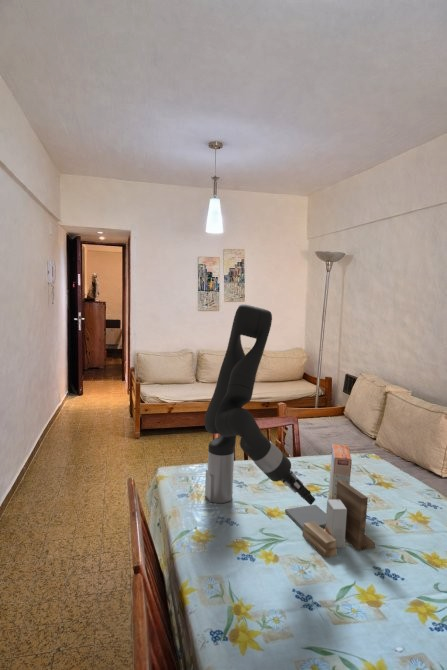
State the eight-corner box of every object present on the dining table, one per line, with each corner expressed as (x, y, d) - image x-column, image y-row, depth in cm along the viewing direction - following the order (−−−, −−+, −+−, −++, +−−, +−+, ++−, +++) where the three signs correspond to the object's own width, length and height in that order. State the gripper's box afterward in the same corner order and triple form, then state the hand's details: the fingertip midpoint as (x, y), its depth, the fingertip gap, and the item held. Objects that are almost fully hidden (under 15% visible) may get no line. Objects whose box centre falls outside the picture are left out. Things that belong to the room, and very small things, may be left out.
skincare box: (324, 536, 132) (326, 499, 130) (337, 536, 132) (340, 499, 131) (330, 548, 125) (333, 509, 124) (345, 547, 126) (347, 509, 125)
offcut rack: (324, 558, 120) (327, 503, 119) (302, 535, 132) (305, 485, 130) (375, 547, 127) (379, 495, 125) (349, 526, 138) (353, 478, 136)
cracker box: (348, 520, 142) (352, 459, 140) (329, 517, 143) (333, 457, 141) (345, 500, 155) (348, 444, 153) (327, 498, 156) (331, 443, 154)
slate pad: (303, 530, 134) (303, 527, 134) (285, 512, 145) (285, 509, 145) (335, 525, 138) (335, 522, 138) (315, 507, 149) (315, 504, 149)
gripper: (292, 459, 112) (327, 496, 117) (268, 441, 125) (300, 475, 131) (273, 481, 111) (309, 517, 116) (251, 460, 124) (284, 493, 129)
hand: (304, 495), depth 123 cm, fingers open, 8 cm apart
